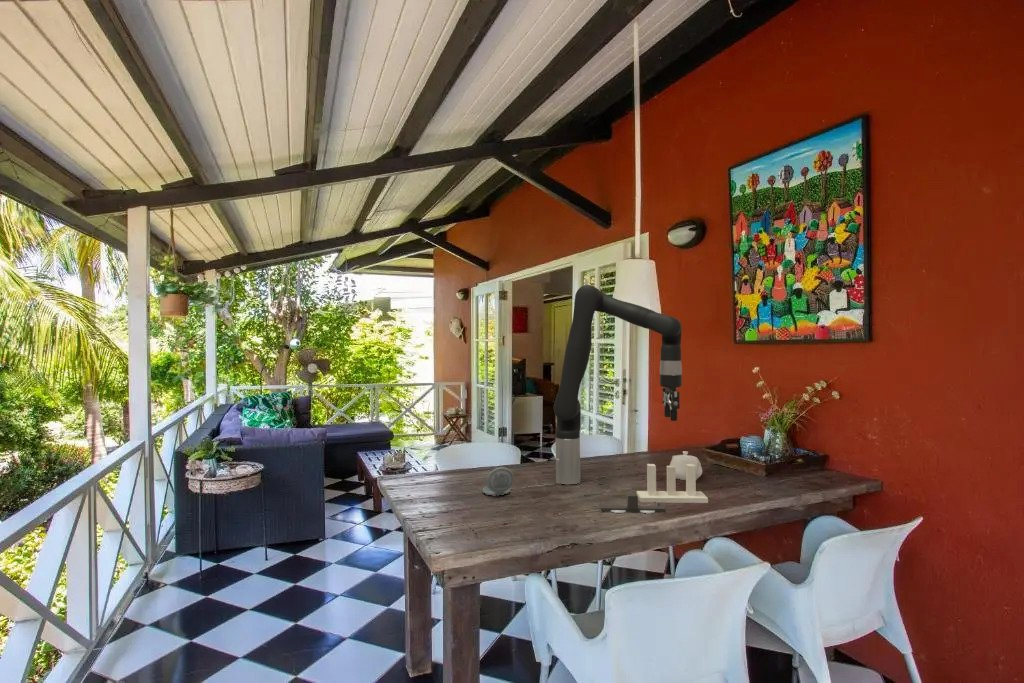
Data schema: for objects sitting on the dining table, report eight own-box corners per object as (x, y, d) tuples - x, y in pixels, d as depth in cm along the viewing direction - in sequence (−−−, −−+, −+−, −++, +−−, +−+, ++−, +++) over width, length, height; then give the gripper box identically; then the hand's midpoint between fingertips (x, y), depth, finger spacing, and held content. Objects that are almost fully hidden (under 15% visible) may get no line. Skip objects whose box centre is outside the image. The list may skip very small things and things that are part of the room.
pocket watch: (486, 468, 180) (478, 459, 194) (487, 500, 180) (478, 488, 194) (515, 466, 182) (504, 457, 197) (515, 498, 182) (505, 486, 197)
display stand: (640, 502, 175) (639, 467, 175) (636, 495, 183) (635, 462, 183) (708, 502, 174) (707, 468, 174) (701, 495, 182) (700, 462, 182)
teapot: (715, 483, 197) (715, 456, 197) (685, 485, 194) (685, 458, 194) (687, 470, 217) (686, 445, 217) (659, 472, 214) (658, 447, 214)
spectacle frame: (601, 513, 165) (600, 496, 165) (598, 504, 173) (598, 489, 173) (666, 514, 163) (666, 497, 163) (660, 505, 172) (660, 489, 172)
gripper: (655, 372, 195) (655, 415, 195) (664, 374, 181) (664, 422, 181) (676, 372, 195) (675, 416, 195) (687, 374, 180) (687, 422, 181)
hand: (670, 418), depth 188 cm, fingers open, 8 cm apart
